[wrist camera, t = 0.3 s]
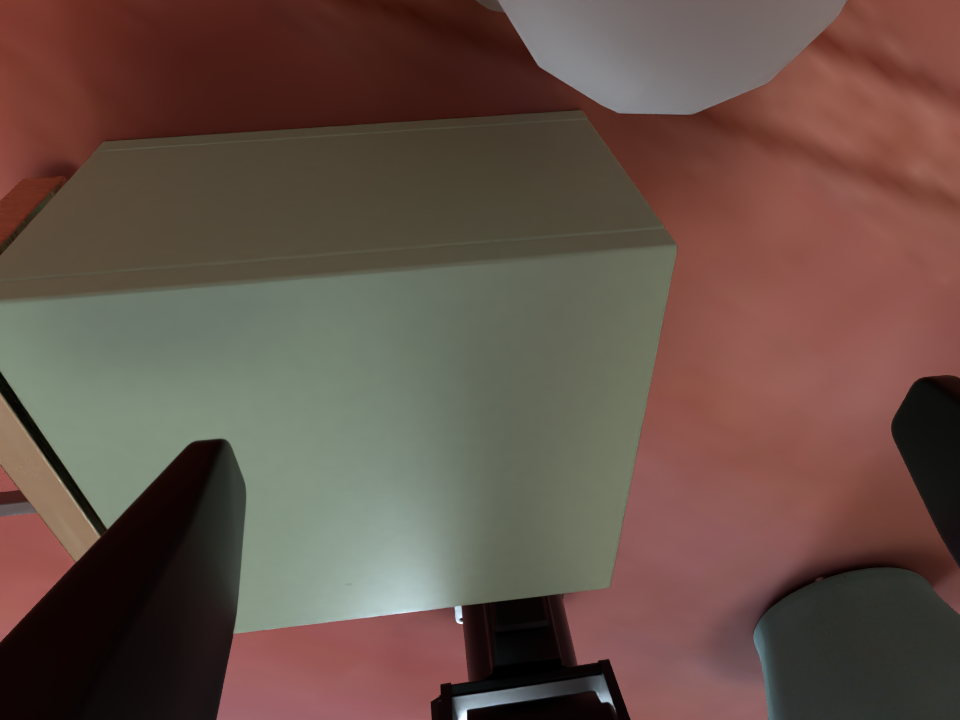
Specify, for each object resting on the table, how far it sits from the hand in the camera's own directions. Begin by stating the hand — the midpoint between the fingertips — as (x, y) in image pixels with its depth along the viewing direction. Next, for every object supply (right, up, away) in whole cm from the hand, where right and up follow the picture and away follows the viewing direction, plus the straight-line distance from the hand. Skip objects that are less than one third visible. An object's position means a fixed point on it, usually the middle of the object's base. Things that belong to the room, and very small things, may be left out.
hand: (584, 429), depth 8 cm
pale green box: (-5, +3, +16) cm, 17 cm away
